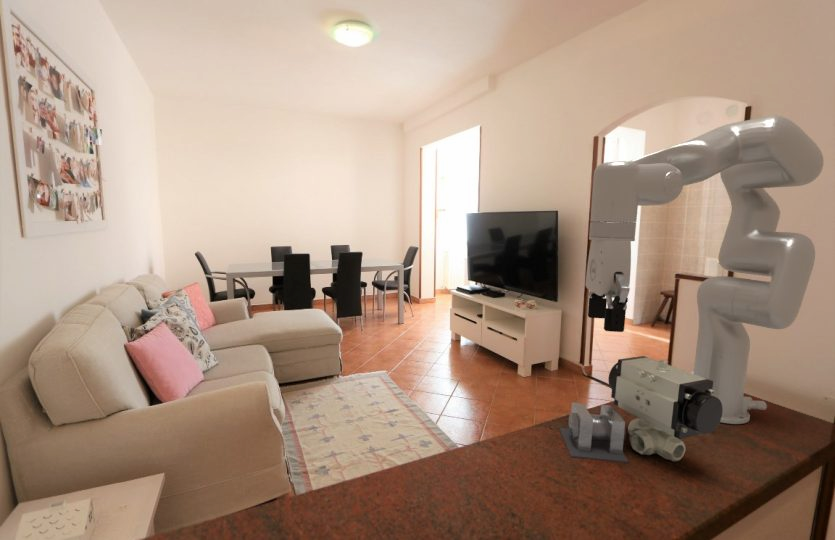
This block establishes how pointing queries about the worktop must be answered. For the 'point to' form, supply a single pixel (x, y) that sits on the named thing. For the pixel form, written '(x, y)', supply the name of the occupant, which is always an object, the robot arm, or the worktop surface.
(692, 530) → the worktop surface
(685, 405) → the ball valve
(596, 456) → the joint mat
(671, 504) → the worktop surface
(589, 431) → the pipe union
